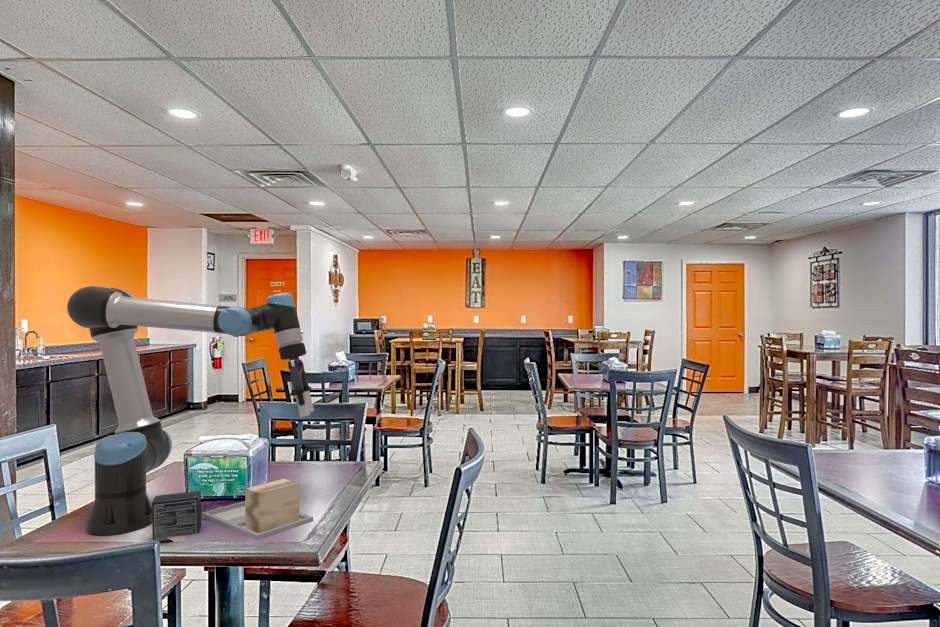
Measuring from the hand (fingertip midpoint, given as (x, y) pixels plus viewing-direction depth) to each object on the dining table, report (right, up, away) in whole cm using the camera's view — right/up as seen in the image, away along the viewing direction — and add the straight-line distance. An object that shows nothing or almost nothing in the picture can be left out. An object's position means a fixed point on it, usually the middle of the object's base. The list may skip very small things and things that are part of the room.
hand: (307, 414), depth 169 cm
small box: (-25, -26, -27) cm, 45 cm away
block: (-3, -24, -23) cm, 33 cm away
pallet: (-8, -26, -18) cm, 33 cm away
